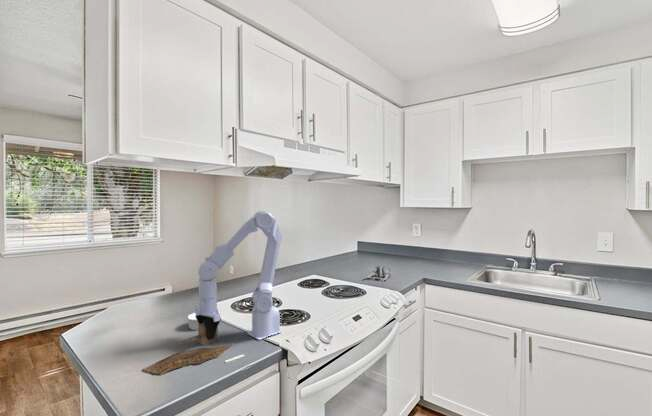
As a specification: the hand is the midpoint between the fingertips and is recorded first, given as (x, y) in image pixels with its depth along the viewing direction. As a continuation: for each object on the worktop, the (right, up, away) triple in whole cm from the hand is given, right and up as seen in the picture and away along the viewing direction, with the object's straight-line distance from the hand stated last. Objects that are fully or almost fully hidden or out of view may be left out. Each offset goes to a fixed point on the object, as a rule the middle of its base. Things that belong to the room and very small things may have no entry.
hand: (208, 337), depth 106 cm
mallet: (-3, -1, -2) cm, 4 cm away
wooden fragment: (-1, -2, -12) cm, 12 cm away
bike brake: (+73, -1, +91) cm, 117 cm away
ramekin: (-8, -2, +13) cm, 16 cm away
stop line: (+13, -2, -12) cm, 18 cm away
